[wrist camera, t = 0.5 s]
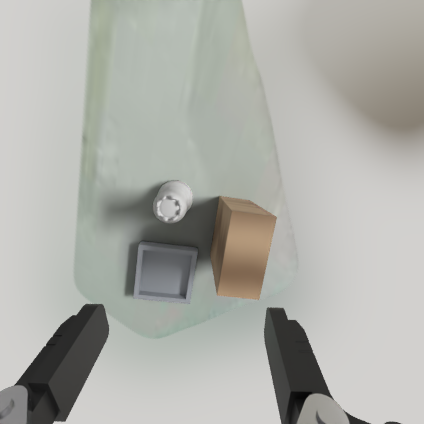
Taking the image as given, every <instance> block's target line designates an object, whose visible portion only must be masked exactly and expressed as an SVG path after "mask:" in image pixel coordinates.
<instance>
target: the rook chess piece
mask: <svg viewBox="0 0 424 424" xmlns="http://www.w3.org/2000/svg"><path fill="white" fill-rule="evenodd" d="M192 203H193V193H192V191H191V189H190V187H189V186H188V185H187V184H185V183H184V182H181V181H178V180H173V181H169V182H167V183H165V184H164V185H163V186H162V187H161V188H160V189H159V192H158V195H157V196H156V198H155V199H154V202H153V212H154V213H155V215H156V217H157V218H158V219H159V220H161V221H162V222H165V223H175V222H178V221H180V220H181V219H182V218H183V217H184V216H185V213H186V212H187V211H188V210H189V209H190V208H191V206H192Z"/></svg>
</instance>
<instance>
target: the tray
mask: <svg viewBox="0 0 424 424" xmlns="http://www.w3.org/2000/svg"><path fill="white" fill-rule="evenodd" d="M197 254H198V248H196V247H187V246H179V245H171V244H163V243H155V242H147V241H141V242H140V244H139V247H138V257H137V266H136V276H135V286H134V296H133V298H134V299H144V300H155V301H165V302H175V303H185V304H190V300H191V293H192V286H193V280H194V273H195V267H196V260H197Z"/></svg>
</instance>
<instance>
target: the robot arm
mask: <svg viewBox="0 0 424 424" xmlns="http://www.w3.org/2000/svg"><path fill="white" fill-rule="evenodd" d="M108 334H109V325H108V321H107V317H106V313H105V309H104V306H103V305H102V304H85V305H84V306H83V307H82V309H81V310H80V311H79V313H78V314H77V315H73V316H71V317H70V318H69V319H67V320H66V321H65V322H64V323H62V324H61V325H60V327H59V328H58V329H57V331H56V332H55V333H54V335H53V337H51V338H50V340H49V341H48V342H47V344H46V346H45V347H44V348H43V349H42V350H41V352H40V353H39V354H38V355H37V357H36V358H35V359H34V361H33V362H32V363H31V365H30V366H29V367H28V368H27V370H26V371H25V373H24V374H23V375H22V376H21V378H20V379H19V380H18V381H17V383H16V384H15V385H14V386H11V387H8V388H6V389H4V390H2V391H1V392H0V424H53V422H54V421H62V422H63V421H66V419H67V417H68V415H69V413H70V411H71V409H72V407H73V405H74V403H75V401H76V399H77V397H78V395H79V393H80V391H81V390H82V388H83V386H84V383H85V381H86V380H87V378H88V376H89V374H90V372H91V370H92V368H93V366H94V363H95V362H96V360H97V358H98V356H99V354H100V352H101V350H102V348H103V346H104V344H105V342H106V340H107V338H108ZM264 338H265V345H266V350H267V355H268V360H269V365H270V370H271V375H272V379H273V385H274V389H275V394H276V399H277V403H278V409H279V413H280V419H281V423H282V424H370V423H367V422H365V421H362V420H360V419H357V418H355V417H353V416H351V415H350V414H348V413H347V412H345V411H344V410H343V409H342V408H341V407H340V405H339V404H337V402H335V400H334V399H333V398H332V396H331V394H330V392H329V390H328V387H327V385H326V383H325V380H324V378H323V375H322V373H321V370H320V368H319V365H318V363H317V360H316V358H315V355H314V354H313V350H312V348H311V345H310V343H309V340H308V338H307V336H306V333H305V331H304V329H303V328H302V327H301V326H300V324H299V323H298V322H297V321H296V320H288V319H287V316H286V313H285V310H284V309H283V308H267V311H266V319H265V328H264ZM385 424H400V423H398V422H386V423H385Z"/></svg>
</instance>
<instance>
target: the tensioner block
mask: <svg viewBox="0 0 424 424" xmlns="http://www.w3.org/2000/svg"><path fill="white" fill-rule="evenodd" d="M276 218H277V217H276V216H274V215H272V214H271V213H269V212H267V211H266V210H264V209H263V208H261V207H259V206H258V205H256V204H254V203H253V202H251V201H249V200H242V199H236V198H229V197H222V196H220V197H219V203H218V209H217V215H216V221H215V227H214V233H213V240H212V246H211V252H210V257H211V262H212V268H213V274H214V280H215V286H216V292H217V295H218V296H228V297H238V298H248V299H257V300H259V298H260V293H261V288H262V284H263V279H264V274H265V270H266V265H267V260H268V256H269V251H270V246H271V242H272V237H273V232H274V227H275V223H276Z"/></svg>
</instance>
